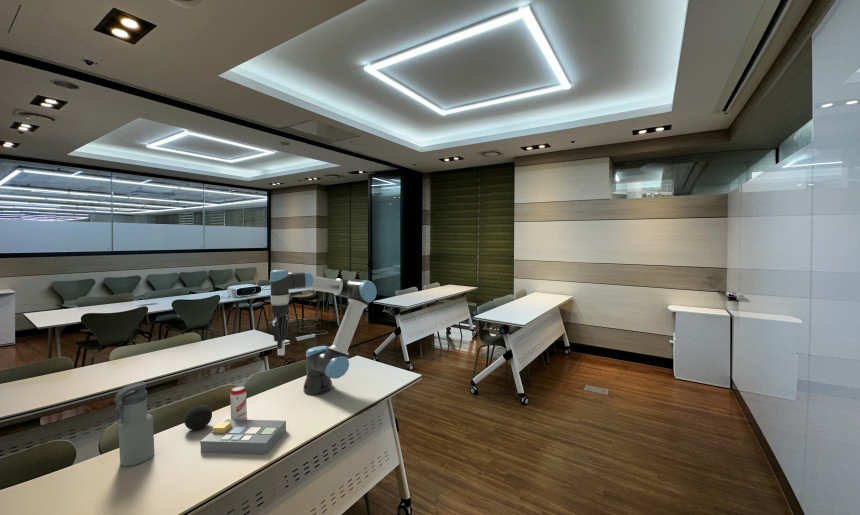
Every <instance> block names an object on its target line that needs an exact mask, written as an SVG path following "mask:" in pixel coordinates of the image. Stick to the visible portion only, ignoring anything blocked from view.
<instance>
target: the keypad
mask: <svg viewBox="0 0 860 515" xmlns="http://www.w3.org/2000/svg"><path fill="white" fill-rule="evenodd" d="M223 422H231V428H230V429H229V430H228V431H227V432H226V433H225V434H217V433H213V430H212V431H211V432H210V433H208V434H207V435H206V436H205V437H203V438H202V439H201V440H200V441H199V442H200V453H207V454H208V453H210V454H211V453H213V454H236V455H237V454H240V455H243V454H244V455H267V454H268V453H269V452H270V451H271V450H272V448H273V447H275V445H276V444H277V443H278V441H279V440H280V439H281V438H282V436H283V435H284V434H285V433H286V431H287V420H275V419H274V420H270V419H247V420H241V419H231V418H228V419H225V420H224V421H223ZM235 427H247V428H246V429H245V430H244V431H243V432H242V433H241V434H229V432H230V431H231V430H232V429H234V428H235ZM250 427H262V429H261V430H260V431H259V432H258V433H257V434H256V435H252V434H244V433H245V432H246V431H247V430H248V429H249V428H250ZM266 427H268V428H277V430H276V431H275V432H274V433H273V434H272V435H260V433H261V432H262V431H263V430H264V429H265V428H266Z"/></svg>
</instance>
